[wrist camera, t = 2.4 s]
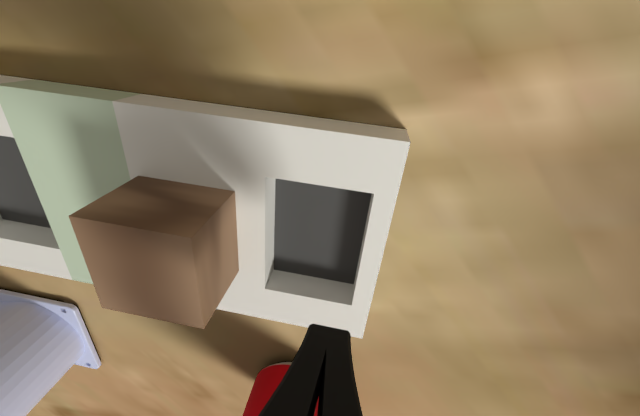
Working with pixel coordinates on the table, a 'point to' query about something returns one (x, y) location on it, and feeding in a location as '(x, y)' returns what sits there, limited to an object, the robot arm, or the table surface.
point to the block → (160, 248)
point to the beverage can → (266, 388)
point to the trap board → (211, 171)
